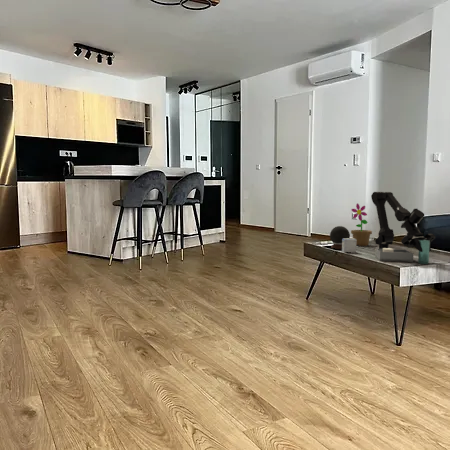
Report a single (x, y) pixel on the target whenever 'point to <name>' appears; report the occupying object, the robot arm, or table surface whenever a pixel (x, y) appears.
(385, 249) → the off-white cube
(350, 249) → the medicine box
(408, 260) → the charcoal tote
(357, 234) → the flowerpot
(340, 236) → the black round ball shape
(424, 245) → the teal tin
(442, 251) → the table surface
